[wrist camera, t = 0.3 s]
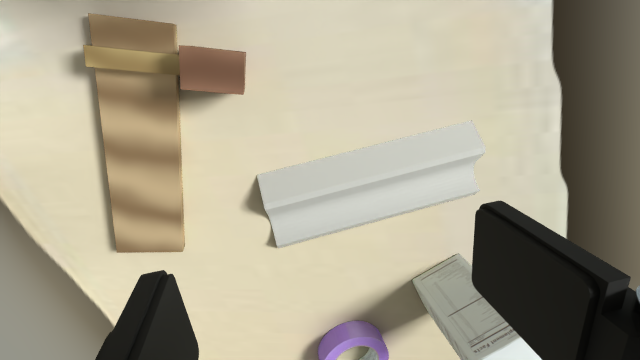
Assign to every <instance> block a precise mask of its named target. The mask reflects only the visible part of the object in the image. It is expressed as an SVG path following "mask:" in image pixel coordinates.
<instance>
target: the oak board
mask: <svg viewBox="0 0 640 360" xmlns="http://www.w3.org/2000/svg"><path fill="white" fill-rule="evenodd" d="M88 17H89V25H90V33H91V42H92V46H101V47H111V48H120V49H129V50H139V51H148V52H158V53H167V54H176V55H177V29H176V25H175V24H170V23H162V22H154V21H146V20H138V19H130V18H122V17H114V16H106V15H98V14H90V13H88ZM95 75H96V83H97V91H98V100H99V108H100V116H101V125H102V133H103V141H104V150H105V158H106V166H107V175H108V183H109V191H110V200H111V208H112V216H113V225H114V233H115V241H116V250H117V253H120V252H183V249H184V247H185V239H184V213H183V187H182V161H181V134H180V108H179V82H178V75H170V74H160V73H149V72H139V71H128V70H117V69H107V68H96V67H95Z"/></svg>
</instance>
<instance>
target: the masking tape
mask: <svg viewBox="0 0 640 360" xmlns="http://www.w3.org/2000/svg"><path fill="white" fill-rule="evenodd" d="M358 346H366V347H369V350H368V352H367V353H366V354H365V355H364V356H363V357H362V358H360V359H359V360H388V358H389V353H388V349H387V347H386V345H385V343H384V341H383V339H382V336H381V334H380V332H379V330H378V329H377V328H376V327H375V326H373V325H372V324H370V323H367V322H364V321H350V322H346V323H343V324H340V325H338V326H336V327H334V328H333V329H331V330H330V331H329V332H328V333H327V334H326V335H325V336H324V337H323V339H322V340H321V342H320V344H319V348H318V356H319V360H337V358H338V357H339V356H340V355H341V354H342V353H343V352H345V351H346V350H348V349H351V348H353V347H358Z"/></svg>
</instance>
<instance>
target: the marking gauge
mask: <svg viewBox="0 0 640 360" xmlns="http://www.w3.org/2000/svg"><path fill="white" fill-rule="evenodd" d="M83 47H84V55H85V63H86V67H96V68H107V69H117V70H128V71H139V72H149V73H160V74H170V75H180V89H183V90H194V91H206V92H218V93H229V94H241V95H243V94H244V89H245V65H246V52H240V51H231V50H222V49H213V48H204V47H195V46H180V45H179V55H176V54H167V53H158V52H148V51H139V50H129V49H120V48H111V47H101V46H92V45H83Z"/></svg>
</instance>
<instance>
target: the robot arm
mask: <svg viewBox="0 0 640 360" xmlns="http://www.w3.org/2000/svg"><path fill="white" fill-rule="evenodd" d="M629 281H630V276H628V275H626V274H625V273H623V272H621V271H620V270H618V269H616V268H614V267H612V266H611V265H609V264H608V263H606V262H604V261H603V260H601V259H599V258H598V257H596V256H594V255H592V254H591V253H589V252H587V251H586V250H584V249H582V248H581V247H579V246H577V245H576V244H574V243H572V242H571V241H569V240H567V239H566V238H564V237H562V236H560V235H559V234H557V233H555V232H554V231H552V230H550V229H549V228H547V227H545V226H544V225H542V224H540V223H539V222H537V221H535V220H533V219H532V218H530V217H528V216H527V215H525V214H523V213H522V212H520V211H518V210H517V209H515V208H513V207H511V206H510V205H508V204H506V203H505V202H503V201H495V202H491V203H486V204H482V205H481V206H480V208H479V210H477V212H476V215H475V231H474V246H473V262H472V283H473V286H474V288H475V289H476V290H477V291H478V292H479V293H480V295H481V296H482V297H483V298H484V299H485V300H486V301H487V302H488V303H489V304H490V305H491V306H492V307H493V308H494V309H495V310H496V311H497V313H498V314H499V315H500V316H501V317H502V318H503V319H504V320H505V321H506V322H507V323H508V324H509V325H510V326H511V327H512V328H513V329H514V331H515V332H516V333H517V334H518V335H519V336H520V337H521V338H522V339H523V340H524V341H525V342H526V343H527V344H528V345H529V346H530V347H531V349H532V350H533V351H534V352H535V353H536V354H537V355H538V356H539V357H540V358H541V359H542V360H640V285H639V287H638V288H637V289H636V292H635V291H634V290H632V289H631V288H629V287H628V285H629ZM198 357H199V348H198V343H197V340H196V337H195V334H194V331H193V329H192V326H191V323H190V320H189V317H188V314H187V311H186V309H185V306H184V303H183V300H182V297H181V294H180V291H179V289H178V286H177V283H176V280H175V277H174V275H173V274H168V275H167V273H166V272H165V271H164V270H162V271H157V272H152V273H147V274H143V275H141V276H140V278H139V280H138V282H137V284H136V286H135V288H134V290H133V292H132V294H131V296H130V298H129V300H128V302H127V304H126V306H125V308H124V310H123V312H122V314H121V316H120V318H119V320H118V322H117V324H116V326H115V328H114V330H113V331H112V332H110V333H109V335H108V336H107V338H106V339H105V341H104V343H103V345H102V347H101V349H100V351H99V353H98V355H97V357H96V359H95V360H198Z"/></svg>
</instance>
